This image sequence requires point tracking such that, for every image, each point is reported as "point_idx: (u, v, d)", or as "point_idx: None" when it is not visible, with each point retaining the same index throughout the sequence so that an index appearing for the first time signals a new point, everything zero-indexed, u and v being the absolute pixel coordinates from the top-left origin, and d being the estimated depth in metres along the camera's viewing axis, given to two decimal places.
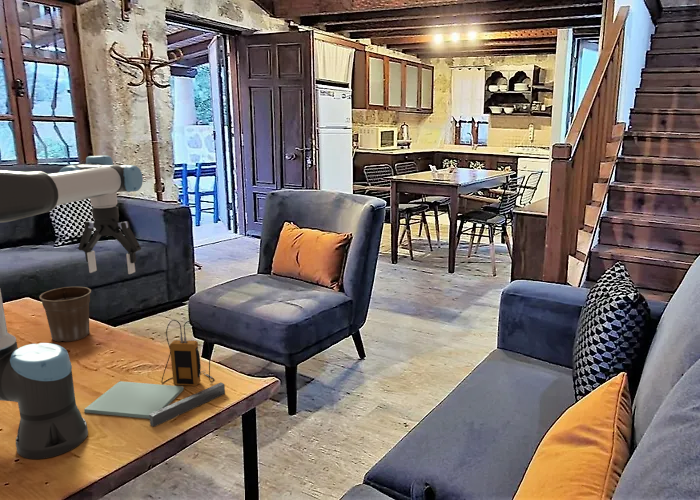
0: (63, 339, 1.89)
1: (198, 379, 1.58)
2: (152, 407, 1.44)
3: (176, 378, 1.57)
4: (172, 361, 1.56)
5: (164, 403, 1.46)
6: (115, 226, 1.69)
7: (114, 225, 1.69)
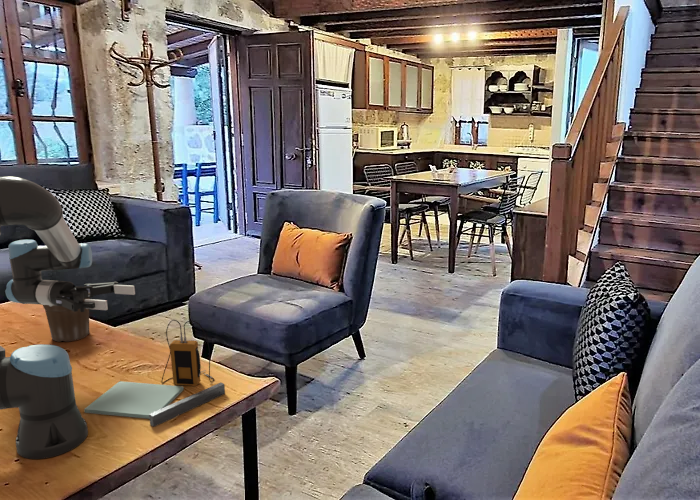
0: (63, 339, 1.89)
1: (198, 379, 1.58)
2: (152, 407, 1.44)
3: (176, 378, 1.57)
4: (172, 361, 1.56)
5: (164, 403, 1.46)
6: None
7: None
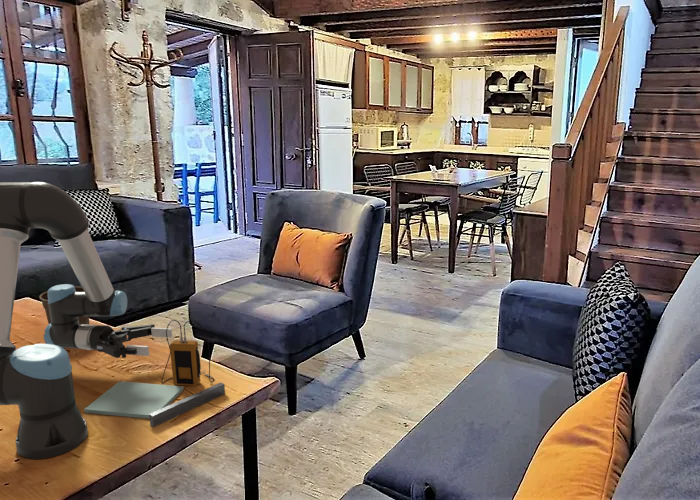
0: None
1: (198, 379, 1.58)
2: (152, 407, 1.44)
3: (176, 378, 1.57)
4: (172, 361, 1.56)
5: (164, 403, 1.46)
6: None
7: None
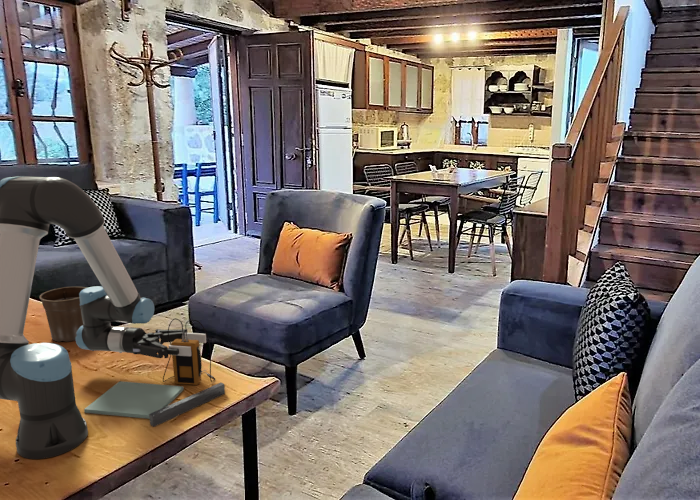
0: (63, 339, 1.89)
1: (199, 378, 1.58)
2: (152, 407, 1.44)
3: (177, 377, 1.58)
4: (173, 360, 1.56)
5: (164, 403, 1.46)
6: None
7: None
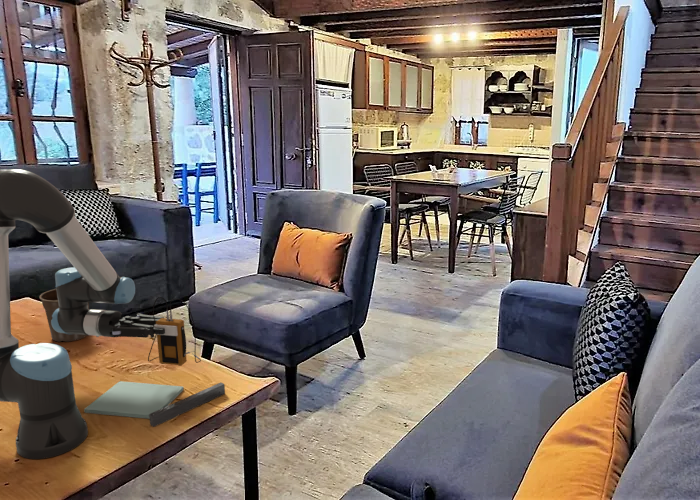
0: (63, 339, 1.89)
1: (184, 359, 1.55)
2: (152, 407, 1.44)
3: (162, 356, 1.55)
4: (158, 339, 1.54)
5: (164, 403, 1.46)
6: None
7: None
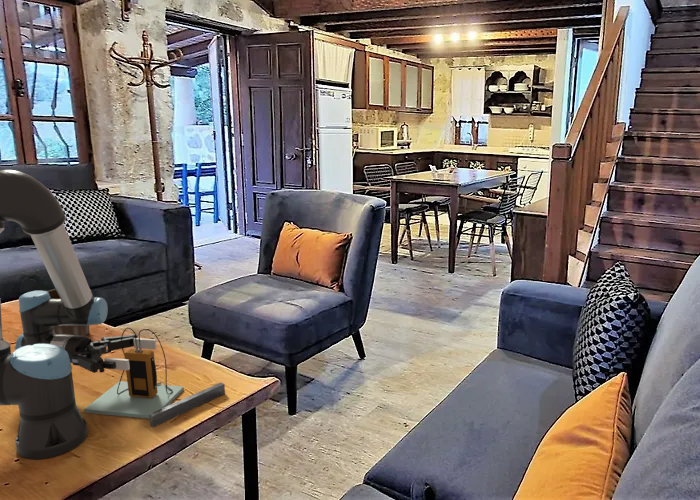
0: None
1: (154, 391, 1.49)
2: (152, 407, 1.44)
3: (131, 389, 1.49)
4: (127, 371, 1.48)
5: (164, 403, 1.46)
6: None
7: None
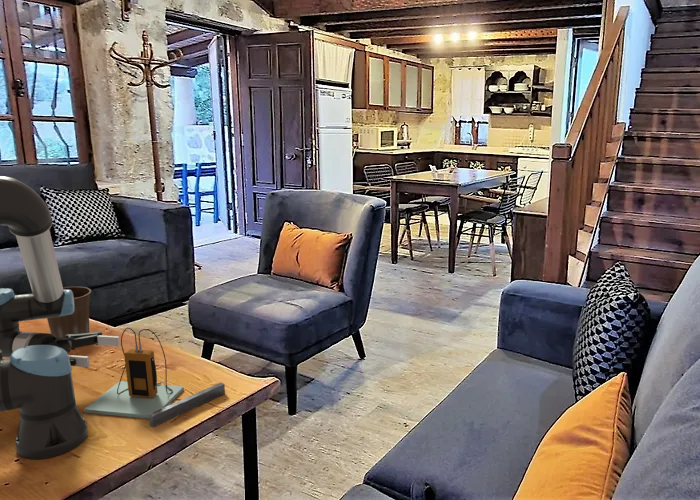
0: None
1: (154, 391, 1.49)
2: (152, 407, 1.44)
3: (131, 389, 1.49)
4: (127, 371, 1.48)
5: (164, 403, 1.46)
6: None
7: None
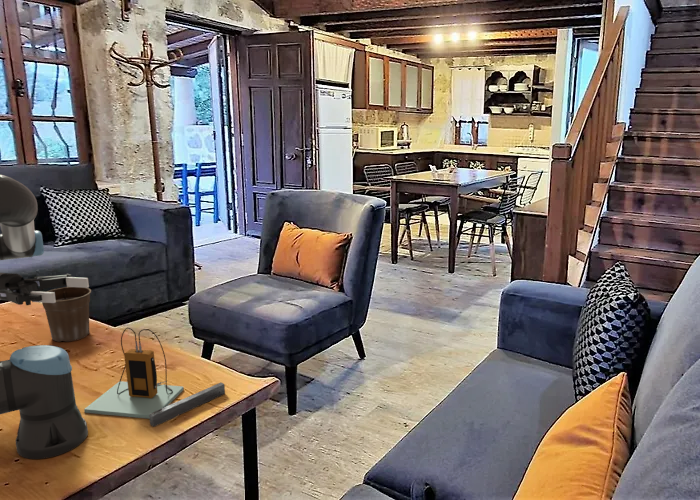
0: (63, 339, 1.89)
1: (154, 391, 1.49)
2: (152, 407, 1.44)
3: (131, 389, 1.49)
4: (127, 371, 1.48)
5: (164, 403, 1.46)
6: None
7: None
